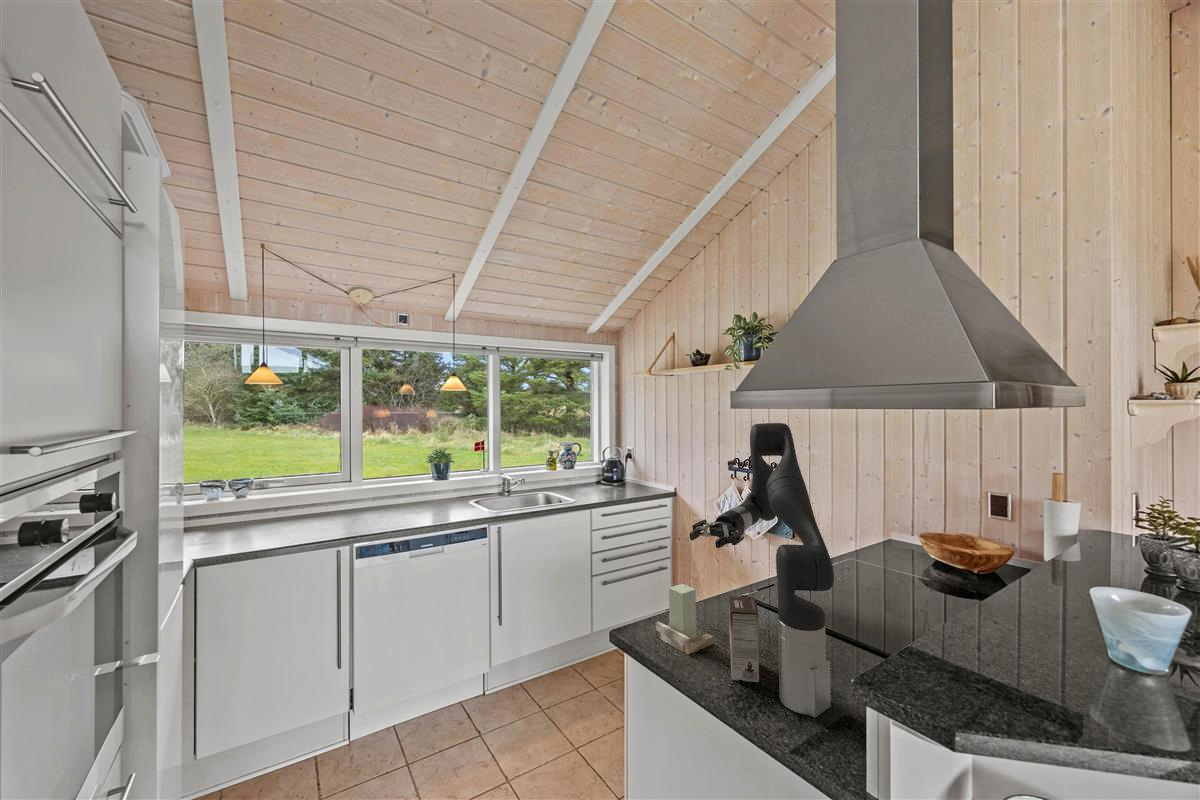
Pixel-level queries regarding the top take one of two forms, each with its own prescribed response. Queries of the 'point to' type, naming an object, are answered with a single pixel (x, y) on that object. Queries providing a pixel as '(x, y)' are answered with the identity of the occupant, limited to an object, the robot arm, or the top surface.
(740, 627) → the coffee box
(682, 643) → the wooden lane
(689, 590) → the sage block
